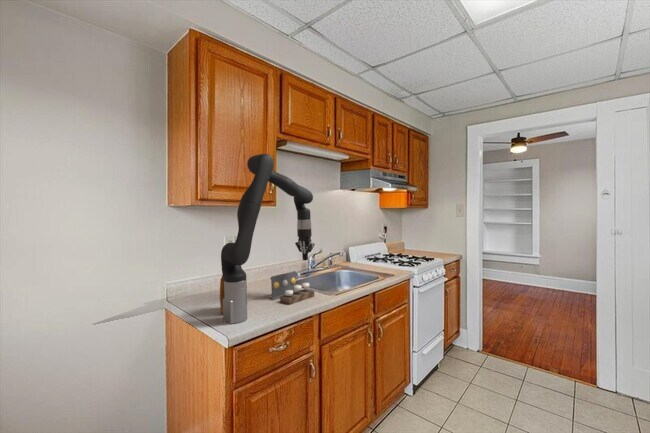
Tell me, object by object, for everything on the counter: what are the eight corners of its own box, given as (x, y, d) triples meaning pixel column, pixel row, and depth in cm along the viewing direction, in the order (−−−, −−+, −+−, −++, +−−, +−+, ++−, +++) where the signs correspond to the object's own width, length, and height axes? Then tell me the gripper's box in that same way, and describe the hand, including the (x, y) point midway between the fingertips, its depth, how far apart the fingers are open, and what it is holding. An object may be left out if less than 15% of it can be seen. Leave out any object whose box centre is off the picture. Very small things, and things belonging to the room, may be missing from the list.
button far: (305, 288, 162) (305, 284, 162) (300, 287, 165) (300, 283, 165) (310, 287, 166) (310, 283, 165) (305, 286, 168) (305, 282, 168)
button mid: (297, 291, 158) (297, 287, 158) (292, 289, 161) (292, 286, 161) (303, 289, 161) (302, 285, 161) (297, 288, 164) (297, 284, 164)
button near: (288, 296, 154) (288, 292, 153) (283, 295, 156) (283, 291, 156) (294, 294, 157) (294, 290, 156) (289, 293, 159) (289, 289, 159)
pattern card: (273, 300, 160) (272, 277, 160) (269, 299, 162) (269, 276, 162) (298, 292, 174) (297, 271, 173) (294, 291, 176) (294, 270, 175)
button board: (289, 304, 152) (289, 298, 152) (280, 302, 157) (280, 296, 156) (314, 296, 165) (314, 290, 165) (305, 294, 170) (305, 288, 170)
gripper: (290, 228, 166) (291, 260, 167) (308, 229, 157) (309, 262, 158) (300, 227, 171) (301, 257, 172) (318, 227, 163) (319, 260, 163)
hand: (305, 260), depth 165 cm, fingers closed
